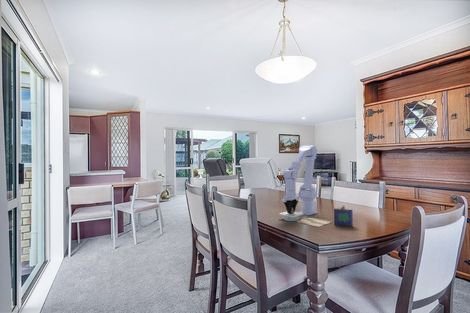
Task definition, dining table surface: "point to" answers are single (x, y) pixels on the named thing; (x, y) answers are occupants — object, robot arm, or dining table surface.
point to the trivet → (314, 222)
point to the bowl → (291, 218)
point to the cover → (291, 213)
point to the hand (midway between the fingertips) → (291, 212)
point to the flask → (343, 217)
